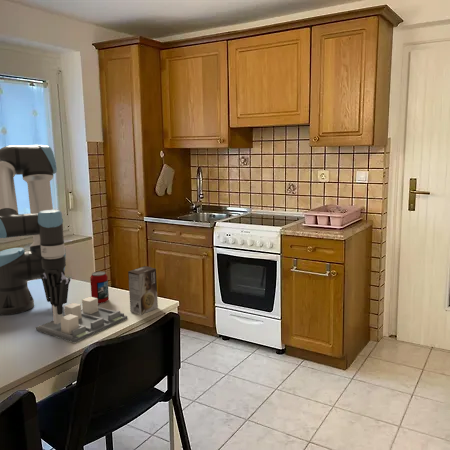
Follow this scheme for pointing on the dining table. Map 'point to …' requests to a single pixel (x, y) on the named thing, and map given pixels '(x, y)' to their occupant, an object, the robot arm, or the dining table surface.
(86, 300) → the cream white block
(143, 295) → the coffee box
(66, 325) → the beige block
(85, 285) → the dining table surface
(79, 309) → the beige block
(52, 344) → the dining table surface
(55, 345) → the dining table surface
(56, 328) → the switch board
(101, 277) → the beverage can
